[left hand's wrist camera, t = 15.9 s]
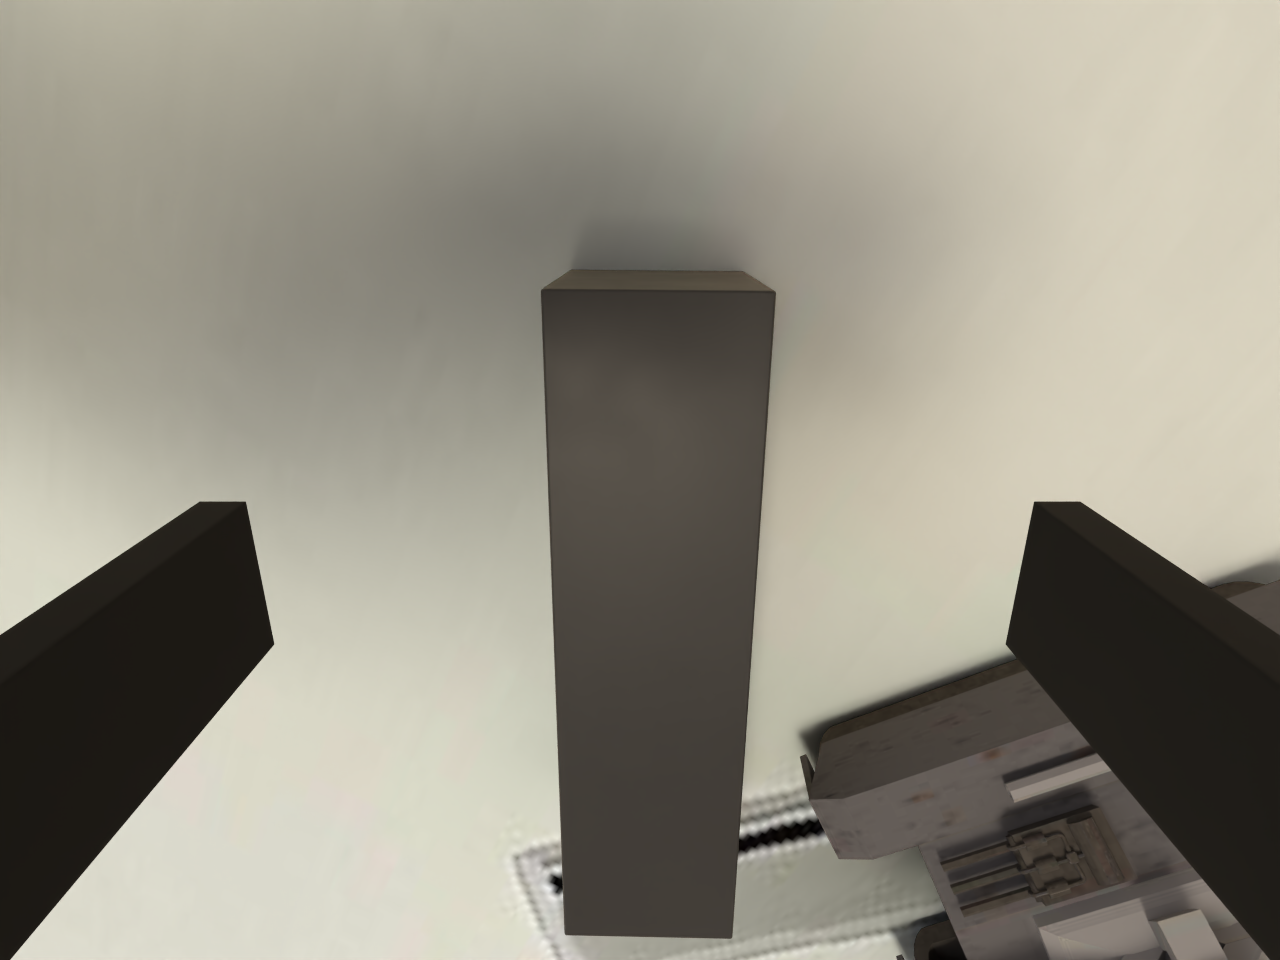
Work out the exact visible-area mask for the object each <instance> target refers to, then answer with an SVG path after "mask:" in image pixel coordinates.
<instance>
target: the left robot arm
mask: <svg viewBox="0 0 1280 960" xmlns="http://www.w3.org/2000/svg"><path fill="white" fill-rule="evenodd" d="M273 645H274V640H273V635H272V630H271V625H270V620H269V615H268V610H267V605H266V600H265V595H264V590H263V585H262V580H261V575H260V570H259V565H258V560H257V555H256V550H255V545H254V540H253V535H252V530H251V525H250V520H249V515H248V510H247V505H246V502H199V503H197V504H196V505H194V506H193V507H191V508H190V509H188V510H187V511H185V512H184V513H182V514H181V515H179V516H178V517H176V518H175V519H173V520H172V521H170V522H169V523H167V524H166V525H164V526H163V527H161V528H160V529H158V530H157V531H155V532H154V533H152V534H151V535H149V536H148V537H146V538H145V539H143V540H142V541H140V542H139V543H137V544H136V545H134V546H133V547H131V548H130V549H128V550H127V551H125V552H124V553H122V554H121V555H119V556H118V557H116V558H115V559H113V560H112V561H110V562H109V563H107V564H106V565H104V566H103V567H101V568H100V569H98V570H97V571H95V572H94V573H92V574H91V575H89V576H88V577H86V578H85V579H83V580H82V581H80V582H79V583H77V584H76V585H74V586H73V587H71V588H70V589H68V590H67V591H65V592H64V593H62V594H61V595H59V596H58V597H56V598H55V599H53V600H52V601H51V602H49V603H48V604H46V605H45V606H43V607H42V608H40V609H39V610H37V611H36V612H34V613H33V614H31V615H30V616H28V617H27V618H25V619H24V620H22V621H21V622H19V623H18V624H16V625H15V626H13V627H12V628H10V629H9V630H7V631H6V632H4V633H3V634H1V635H0V960H10V959H11V958H12V957H13V956H14V955H15V953H16V952H17V951H18V950H19V949H20V947H21V946H22V945H23V944H24V943H25V941H26V940H27V939H28V938H29V937H30V935H31V934H32V933H33V932H34V931H35V929H36V928H37V927H38V926H39V925H40V923H41V922H42V921H43V920H44V919H45V917H46V916H47V915H48V914H49V913H50V912H51V910H52V909H53V908H54V907H55V906H56V904H57V903H58V902H59V901H60V900H61V898H62V897H63V896H64V895H65V894H66V892H67V891H68V890H69V889H70V888H71V886H72V885H73V884H74V883H75V882H76V880H77V879H78V878H79V877H80V876H81V874H82V873H83V872H84V871H85V870H86V869H87V867H88V866H89V865H90V864H91V863H92V861H93V860H94V859H95V858H96V857H97V855H98V854H99V853H100V852H101V851H102V849H103V848H104V847H105V846H106V845H107V843H108V842H109V841H110V840H111V839H112V837H113V836H114V835H115V834H116V833H117V831H118V830H119V829H120V828H121V827H122V826H123V824H124V823H125V822H126V821H127V820H128V818H129V817H130V816H131V815H132V814H133V812H134V811H135V810H136V809H137V808H138V806H139V805H140V804H141V803H142V802H143V800H144V799H145V798H146V797H147V796H148V794H149V793H150V792H151V791H152V790H153V788H154V787H155V786H156V785H157V784H158V783H159V781H160V780H161V779H162V778H163V777H164V775H165V774H166V773H167V772H168V771H169V769H170V768H171V767H172V766H173V765H174V763H175V762H176V761H177V760H178V759H179V757H180V756H181V755H182V754H183V753H184V751H185V750H186V749H187V748H188V747H189V746H190V744H191V743H192V742H193V741H194V740H195V738H196V737H197V736H198V735H199V734H200V732H201V731H202V730H203V729H204V728H205V726H206V725H207V724H208V723H209V722H210V720H211V719H212V718H213V717H214V716H215V714H216V713H217V712H218V711H219V710H220V708H221V707H222V706H223V705H224V704H225V703H226V701H227V700H228V699H229V698H230V697H231V695H232V694H233V693H234V692H235V691H236V689H237V688H238V687H239V686H240V685H241V683H242V682H243V681H244V680H245V679H246V677H247V676H248V675H249V674H250V673H251V671H252V670H253V669H254V668H255V667H256V665H257V664H258V663H259V662H260V661H261V660H262V658H263V657H264V656H265V655H266V654H267V652H268V651H269V650H270V649H271V648H272V646H273ZM1006 645H1007V646H1008V648H1009V649H1010V650H1011V651H1012V652H1013V654H1014V655H1015V656H1016V657H1017V658H1018V660H1019V661H1020V662H1021V663H1022V664H1023V665H1024V667H1025V668H1026V669H1027V670H1028V671H1029V673H1030V674H1031V675H1032V676H1033V677H1034V679H1035V680H1036V681H1037V682H1038V683H1039V685H1040V686H1041V687H1042V688H1043V689H1044V691H1045V692H1046V693H1047V694H1048V695H1049V697H1050V698H1051V699H1052V700H1053V701H1054V703H1055V704H1056V705H1057V706H1058V707H1059V708H1060V710H1061V711H1062V712H1063V713H1064V714H1065V716H1066V717H1067V718H1068V719H1069V720H1070V722H1071V723H1072V724H1073V725H1074V726H1075V728H1076V729H1077V730H1078V731H1079V732H1080V734H1081V735H1082V736H1083V737H1084V738H1085V740H1086V741H1087V742H1088V743H1089V744H1090V746H1091V747H1092V748H1093V749H1094V750H1095V751H1096V753H1097V754H1098V755H1099V756H1100V757H1101V759H1102V760H1103V761H1104V762H1105V763H1106V765H1107V766H1108V767H1109V768H1110V769H1111V771H1112V772H1113V773H1114V774H1115V775H1116V777H1117V778H1118V779H1119V780H1120V781H1121V783H1122V784H1123V785H1124V786H1125V787H1126V789H1127V790H1128V791H1129V792H1130V793H1131V794H1132V796H1133V797H1134V798H1135V799H1136V800H1137V802H1138V803H1139V804H1140V805H1141V806H1142V808H1143V809H1144V810H1145V811H1146V812H1147V814H1148V815H1149V816H1150V817H1151V818H1152V820H1153V821H1154V822H1155V823H1156V824H1157V826H1158V827H1159V828H1160V829H1161V830H1162V831H1163V833H1164V834H1165V835H1166V836H1167V837H1168V839H1169V840H1170V841H1171V842H1172V843H1173V845H1174V846H1175V847H1176V848H1177V849H1178V851H1179V852H1180V853H1181V854H1182V855H1183V857H1184V858H1185V859H1186V860H1187V861H1188V863H1189V864H1190V865H1191V866H1192V867H1193V869H1194V870H1195V871H1196V872H1197V873H1198V874H1199V876H1200V877H1201V878H1202V879H1203V880H1204V882H1205V883H1206V884H1207V885H1208V886H1209V888H1210V889H1211V890H1212V891H1213V892H1214V894H1215V895H1216V896H1217V897H1218V898H1219V900H1220V901H1221V902H1222V903H1223V904H1224V906H1225V907H1226V908H1227V909H1228V910H1229V912H1230V913H1231V914H1232V915H1233V916H1234V917H1235V919H1236V920H1237V921H1238V922H1239V923H1240V925H1241V926H1242V927H1243V928H1244V929H1245V931H1246V932H1247V933H1248V934H1249V935H1250V937H1251V938H1252V939H1253V940H1254V941H1255V943H1256V944H1257V945H1258V946H1259V947H1260V949H1261V950H1262V951H1263V952H1264V953H1265V955H1266V956H1267V957H1268V958H1269V959H1270V960H1280V635H1279V634H1277V633H1276V632H1274V631H1273V630H1271V629H1270V628H1268V627H1267V626H1265V625H1264V624H1262V623H1261V622H1259V621H1258V620H1256V619H1255V618H1253V617H1252V616H1250V615H1249V614H1247V613H1246V612H1244V611H1243V610H1241V609H1240V608H1238V607H1237V606H1235V605H1234V604H1232V603H1231V602H1229V601H1228V600H1226V599H1225V598H1224V597H1222V596H1221V595H1219V594H1218V593H1216V592H1215V591H1213V590H1212V589H1210V588H1209V587H1207V586H1206V585H1204V584H1203V583H1201V582H1200V581H1198V580H1197V579H1195V578H1194V577H1192V576H1191V575H1189V574H1188V573H1186V572H1185V571H1183V570H1182V569H1180V568H1179V567H1177V566H1176V565H1174V564H1173V563H1171V562H1170V561H1168V560H1167V559H1165V558H1164V557H1162V556H1161V555H1159V554H1158V553H1156V552H1155V551H1153V550H1152V549H1150V548H1149V547H1147V546H1146V545H1144V544H1143V543H1141V542H1140V541H1138V540H1137V539H1135V538H1134V537H1132V536H1131V535H1129V534H1128V533H1126V532H1125V531H1123V530H1122V529H1120V528H1119V527H1117V526H1116V525H1114V524H1113V523H1111V522H1110V521H1108V520H1107V519H1105V518H1104V517H1102V516H1101V515H1099V514H1098V513H1096V512H1095V511H1093V510H1092V509H1090V508H1089V507H1087V506H1086V505H1084V504H1083V503H1081V502H1034V505H1033V510H1032V515H1031V520H1030V525H1029V530H1028V535H1027V540H1026V545H1025V550H1024V555H1023V560H1022V565H1021V570H1020V575H1019V580H1018V585H1017V590H1016V595H1015V600H1014V605H1013V610H1012V615H1011V620H1010V625H1009V630H1008V635H1007V640H1006Z"/></svg>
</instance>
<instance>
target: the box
mask: <svg viewBox="0 0 1280 960" xmlns="http://www.w3.org/2000/svg"><path fill="white" fill-rule="evenodd" d="M775 300H776V292H775V291H774V290H772V289H770V288H769V287H767V286H766V285H764V284H762V283H761V282H759V281H758V280H756V279H754V278H753V277H751V276H750V275H748V274H746V273H745V272H743V271H646V270H570V271H569V272H567V273H566V274H564V275H563V276H561V277H560V278H558V279H557V280H555V281H554V282H552V283H551V284H549V285H547V286H546V287H544V288H543V289H542V290H541V306H542V333H543V360H544V387H545V414H546V441H547V469H548V496H549V523H550V550H551V577H552V604H553V631H554V658H555V686H556V713H557V740H558V767H559V794H560V821H561V848H562V875H563V903H564V930H565V935H584V936H631V937H677V938H724V939H731V938H732V933H733V919H734V904H735V889H736V874H737V860H738V845H739V830H740V815H741V801H742V786H743V771H744V757H745V742H746V727H747V712H748V698H749V683H750V668H751V653H752V639H753V624H754V609H755V594H756V580H757V565H758V550H759V536H760V521H761V506H762V491H763V477H764V462H765V447H766V432H767V418H768V403H769V388H770V373H771V359H772V344H773V329H774V315H775Z"/></svg>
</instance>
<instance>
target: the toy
mask: <svg viewBox="0 0 1280 960" xmlns="http://www.w3.org/2000/svg"><path fill="white" fill-rule="evenodd" d="M1211 589H1212V590H1213V591H1215V592H1216V593H1218V594H1219V595H1221V596H1222V597H1224V598H1225V599H1226V600H1228V601H1229V602H1231V603H1232V604H1234V605H1235V606H1237V607H1238V608H1240V609H1241V610H1243V611H1244V612H1246V613H1247V614H1249V615H1250V616H1252V617H1253V618H1255V619H1256V620H1258V621H1259V622H1261V623H1262V624H1264V625H1265V626H1267V627H1268V628H1270V629H1271V630H1273V631H1274V632H1276V633H1277V634H1279V635H1280V580H1278V581H1275V582H1273V583H1270V584H1267V585H1265V584H1260V583H1253V582H1231V583H1227V584H1222V585H1220V586H1217V587H1214V588H1211ZM800 759H801V763H802V768H803V773H804V777H805V782H806V786H807V791H808V796H809V801H810V803H811V805H812V807H813V809H814V811H815V813H816V815H817V817H818V819H819V821H820V823H821V825H822V827H823V829H824V831H825V833H826V835H827V837H828V839H829V841H830V843H831V845H832V847H833V849H834V850H835V852H836V854H837V856H838V858H839V859H876V858H879V857H882V856H885V855H889V854H892V853H895V852H898V851H901V850H905V849H908V848H911V847H914V846H917V845H918V847H919V849H920V852H921V854H922V856H923V859H924V861H925V863H926V866H927V868H928V870H929V873H930V875H931V877H932V880H933V882H934V884H935V887H936V889H937V891H938V894H939V896H940V898H941V901H942V903H943V905H944V908H945V910H946V912H947V915H948V917H949V919H950V920H947V921H943V922H940V923H937V924H934V925H931V926H927V927H924V928H922V929H921V930H920V932H919V933H918V934H917V937H916V940H915V944H914V956H915V960H1270V959H1269V958H1268V957H1267V956H1266V955H1265V953H1264V952H1263V951H1262V950H1261V949H1260V947H1259V946H1258V945H1257V944H1256V943H1255V941H1254V940H1253V939H1252V938H1251V937H1250V935H1249V934H1248V933H1247V932H1246V931H1245V929H1244V928H1243V927H1242V926H1241V925H1240V923H1239V922H1238V921H1237V920H1236V919H1235V917H1234V916H1233V915H1232V914H1231V913H1230V912H1229V910H1228V909H1227V908H1226V907H1225V906H1224V904H1223V903H1222V902H1221V901H1220V900H1219V898H1218V897H1217V896H1216V895H1215V894H1214V892H1213V891H1212V890H1211V889H1210V888H1209V886H1208V885H1207V884H1206V883H1205V882H1204V880H1203V879H1202V878H1201V877H1200V876H1199V874H1198V873H1197V872H1196V871H1195V870H1194V869H1193V867H1192V866H1191V865H1190V864H1189V863H1188V861H1187V860H1186V859H1185V858H1184V857H1183V855H1182V854H1181V853H1180V852H1179V851H1178V849H1177V848H1176V847H1175V846H1174V845H1173V843H1172V842H1171V841H1170V840H1169V839H1168V837H1167V836H1166V835H1165V834H1164V833H1163V831H1162V830H1161V829H1160V828H1159V827H1158V826H1157V824H1156V823H1155V822H1154V821H1153V820H1152V818H1151V817H1150V816H1149V815H1148V814H1147V812H1146V811H1145V810H1144V809H1143V808H1142V806H1141V805H1140V804H1139V803H1138V802H1137V800H1136V799H1135V798H1134V797H1133V796H1132V794H1131V793H1130V792H1129V791H1128V790H1127V789H1126V787H1125V786H1124V785H1123V784H1122V783H1121V781H1120V780H1119V779H1118V778H1117V777H1116V775H1115V774H1114V773H1113V772H1112V771H1111V769H1110V768H1109V767H1108V766H1107V765H1106V763H1105V762H1104V761H1103V760H1102V759H1101V757H1100V756H1099V755H1098V754H1097V753H1096V751H1095V750H1094V749H1093V748H1092V747H1091V746H1090V744H1089V743H1088V742H1087V741H1086V740H1085V738H1084V737H1083V736H1082V735H1081V734H1080V732H1079V731H1078V730H1077V729H1076V728H1075V726H1074V725H1073V724H1072V723H1071V722H1070V720H1069V719H1068V718H1067V717H1066V716H1065V714H1064V713H1063V712H1062V711H1061V710H1060V708H1059V707H1058V706H1057V705H1056V704H1055V703H1054V701H1053V700H1052V699H1051V698H1050V697H1049V695H1048V694H1047V693H1046V692H1045V691H1044V689H1043V688H1042V687H1041V686H1040V685H1039V683H1038V682H1037V681H1036V680H1035V679H1034V677H1033V676H1032V675H1031V674H1030V673H1029V671H1028V670H1027V669H1026V668H1025V667H1024V665H1023V664H1022V663H1021V662H1020V661H1019V660H1018V659H1016V660H1014V661H1011V662H1008V663H1005V664H1003V665H1000V666H997V667H994V668H992V669H989V670H986V671H983V672H981V673H978V674H975V675H972V676H970V677H967V678H964V679H961V680H959V681H956V682H953V683H950V684H948V685H945V686H942V687H939V688H937V689H934V690H931V691H928V692H926V693H923V694H920V695H917V696H915V697H912V698H909V699H906V700H904V701H901V702H898V703H895V704H893V705H890V706H887V707H884V708H882V709H879V710H876V711H873V712H871V713H868V714H865V715H862V716H860V717H857V718H854V719H851V720H849V721H846V722H843V723H840V724H838V725H835V726H832V727H830V728H829V729H828V730H827V731H826V732H825V733H824V735H823V737H822V739H821V741H820V747H819V756H818V760H817V765H816V769H815V772H814V770H813V768H812V766H811V764H810V761H809V759H808V757H807V755H803V756H800ZM896 957H897V960H904V958H903V956H902V954H901V955H898V956H896Z"/></svg>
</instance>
